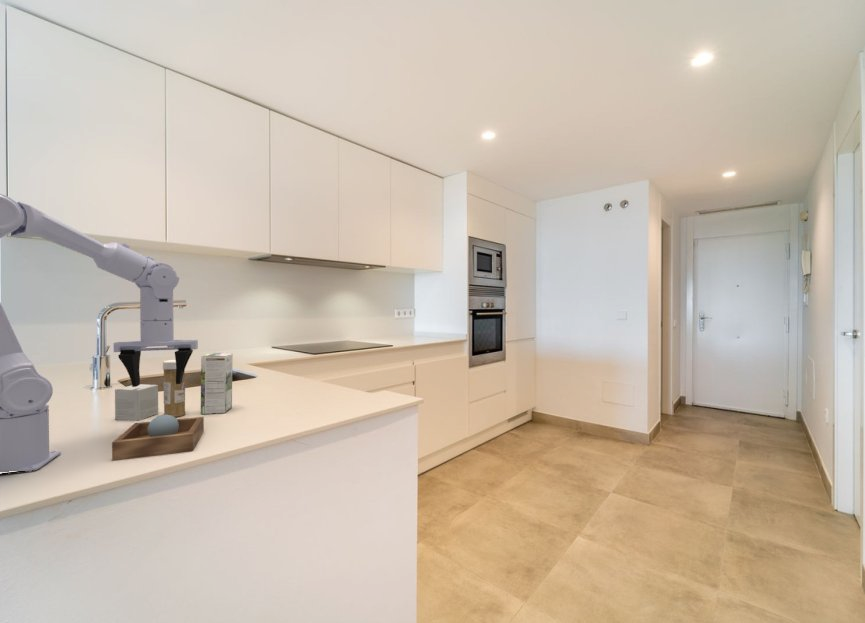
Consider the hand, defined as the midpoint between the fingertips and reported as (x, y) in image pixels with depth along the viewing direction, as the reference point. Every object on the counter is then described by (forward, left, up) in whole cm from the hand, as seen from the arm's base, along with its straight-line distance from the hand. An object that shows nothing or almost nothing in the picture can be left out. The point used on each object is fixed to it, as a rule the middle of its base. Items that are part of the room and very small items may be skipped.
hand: (157, 384), depth 82 cm
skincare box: (-8, +15, -10) cm, 19 cm away
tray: (+3, -9, -10) cm, 14 cm away
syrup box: (+9, +13, -10) cm, 19 cm away
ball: (+3, -9, -9) cm, 13 cm away
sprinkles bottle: (0, +13, -10) cm, 16 cm away
